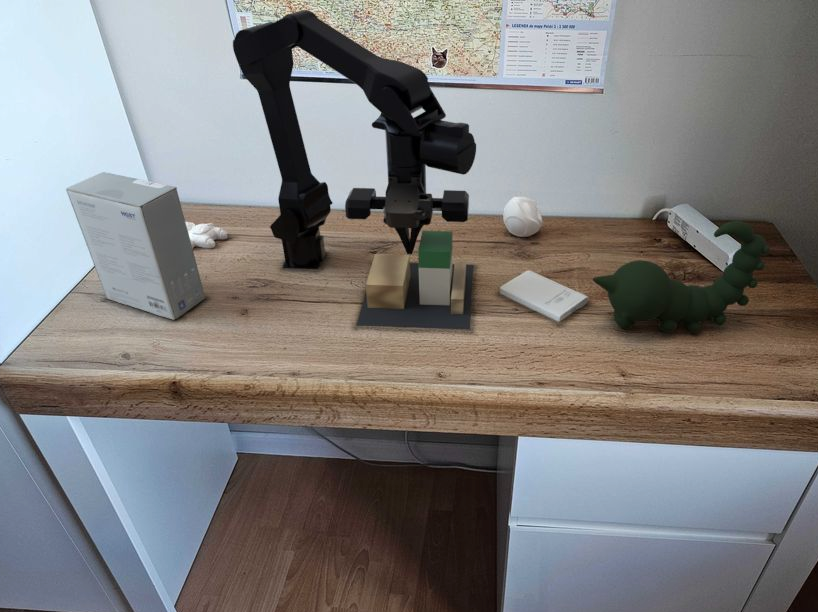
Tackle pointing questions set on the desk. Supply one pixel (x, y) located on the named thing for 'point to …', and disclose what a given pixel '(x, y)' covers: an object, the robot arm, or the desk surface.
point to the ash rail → (458, 287)
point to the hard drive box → (138, 243)
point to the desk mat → (420, 309)
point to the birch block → (388, 281)
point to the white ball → (522, 217)
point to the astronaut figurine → (204, 234)
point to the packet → (435, 267)
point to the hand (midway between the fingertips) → (410, 253)
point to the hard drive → (543, 295)
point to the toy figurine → (684, 287)
